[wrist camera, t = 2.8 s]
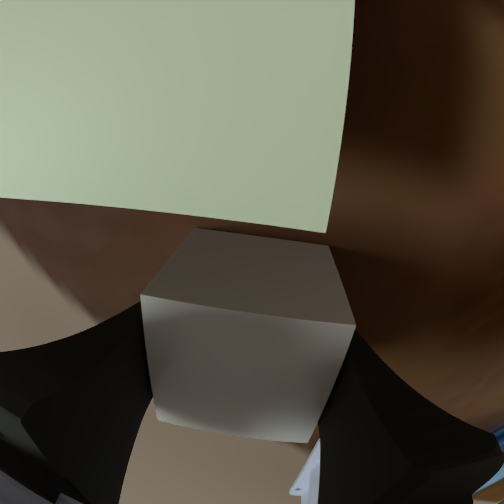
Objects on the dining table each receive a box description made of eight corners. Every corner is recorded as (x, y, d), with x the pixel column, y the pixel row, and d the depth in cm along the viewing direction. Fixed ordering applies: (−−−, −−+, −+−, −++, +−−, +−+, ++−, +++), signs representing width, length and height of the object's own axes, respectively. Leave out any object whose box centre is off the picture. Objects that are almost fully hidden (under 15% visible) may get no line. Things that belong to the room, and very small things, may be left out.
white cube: (303, 349, 13) (307, 442, 8) (192, 334, 13) (157, 419, 9) (328, 245, 11) (356, 325, 7) (194, 227, 11) (140, 294, 7)
